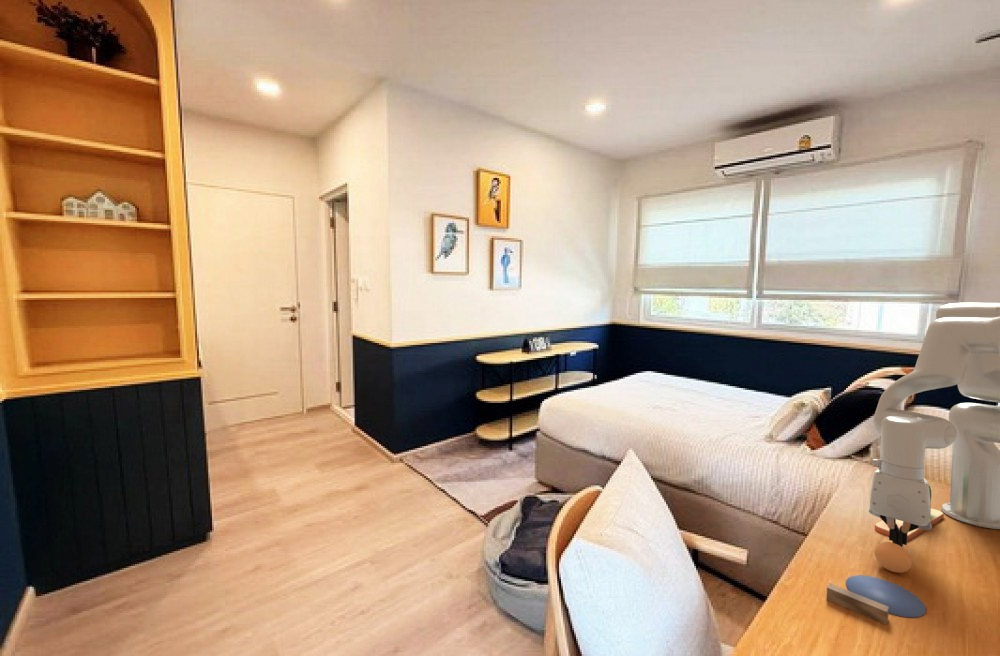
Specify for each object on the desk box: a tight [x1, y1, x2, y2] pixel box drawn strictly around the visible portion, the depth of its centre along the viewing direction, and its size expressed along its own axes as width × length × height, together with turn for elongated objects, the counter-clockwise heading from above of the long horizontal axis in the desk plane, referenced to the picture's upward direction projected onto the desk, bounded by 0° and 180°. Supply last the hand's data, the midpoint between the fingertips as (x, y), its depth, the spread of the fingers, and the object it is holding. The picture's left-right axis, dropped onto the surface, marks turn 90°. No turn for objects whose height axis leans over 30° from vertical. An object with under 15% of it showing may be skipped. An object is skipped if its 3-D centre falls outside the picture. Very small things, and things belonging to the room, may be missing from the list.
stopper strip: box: [826, 583, 890, 626], centre depth 82 cm, size 9×2×2 cm, turn 40°
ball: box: [874, 541, 913, 574], centre depth 93 cm, size 6×6×6 cm
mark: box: [845, 574, 927, 618], centre depth 85 cm, size 12×12×1 cm
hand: (897, 545), depth 99 cm, fingers closed
